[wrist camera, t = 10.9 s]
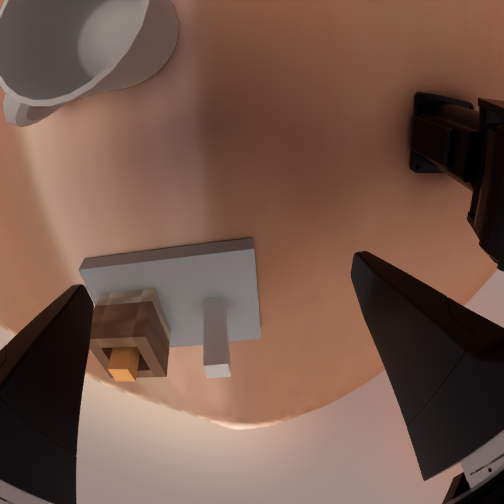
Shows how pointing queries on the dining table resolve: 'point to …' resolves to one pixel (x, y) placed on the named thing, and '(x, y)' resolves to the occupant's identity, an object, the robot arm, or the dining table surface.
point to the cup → (78, 50)
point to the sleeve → (132, 329)
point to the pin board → (186, 297)
